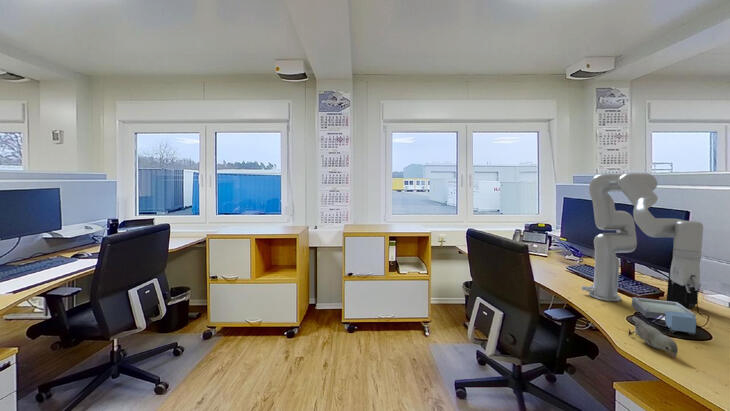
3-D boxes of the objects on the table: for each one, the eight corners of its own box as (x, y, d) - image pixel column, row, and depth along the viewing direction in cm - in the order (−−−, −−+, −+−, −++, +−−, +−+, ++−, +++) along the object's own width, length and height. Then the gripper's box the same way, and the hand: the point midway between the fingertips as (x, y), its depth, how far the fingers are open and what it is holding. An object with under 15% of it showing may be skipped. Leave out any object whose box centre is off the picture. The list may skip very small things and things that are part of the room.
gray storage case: (669, 332, 124) (671, 315, 123) (663, 327, 128) (664, 310, 128) (695, 336, 121) (697, 318, 120) (688, 330, 125) (690, 313, 125)
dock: (644, 318, 136) (645, 308, 136) (631, 306, 149) (632, 297, 149) (694, 324, 131) (695, 314, 130) (676, 311, 144) (677, 302, 143)
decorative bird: (667, 359, 105) (669, 337, 105) (624, 335, 121) (626, 316, 121) (682, 359, 106) (685, 336, 105) (638, 335, 122) (639, 315, 121)
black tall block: (688, 309, 146) (694, 247, 144) (665, 303, 153) (671, 244, 151) (695, 306, 150) (701, 245, 148) (673, 300, 157) (678, 242, 155)
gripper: (662, 249, 131) (660, 291, 132) (686, 258, 115) (683, 305, 116) (686, 250, 129) (683, 293, 130) (714, 260, 112) (711, 308, 114)
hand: (683, 299), depth 123 cm, fingers open, 9 cm apart
